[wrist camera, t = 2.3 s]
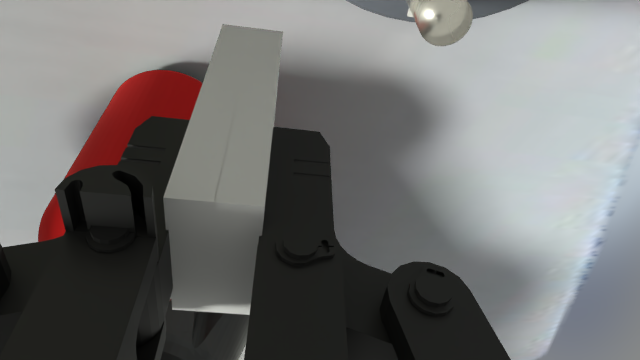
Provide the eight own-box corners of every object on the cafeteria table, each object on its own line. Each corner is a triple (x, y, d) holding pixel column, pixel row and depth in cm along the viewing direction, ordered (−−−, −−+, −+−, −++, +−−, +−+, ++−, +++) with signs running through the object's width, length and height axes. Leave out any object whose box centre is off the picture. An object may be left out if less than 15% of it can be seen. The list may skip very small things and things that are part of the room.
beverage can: (199, 172, 31) (153, 346, 21) (100, 122, 28) (-1, 293, 19) (252, 100, 28) (225, 266, 18) (146, 37, 25) (51, 191, 16)
